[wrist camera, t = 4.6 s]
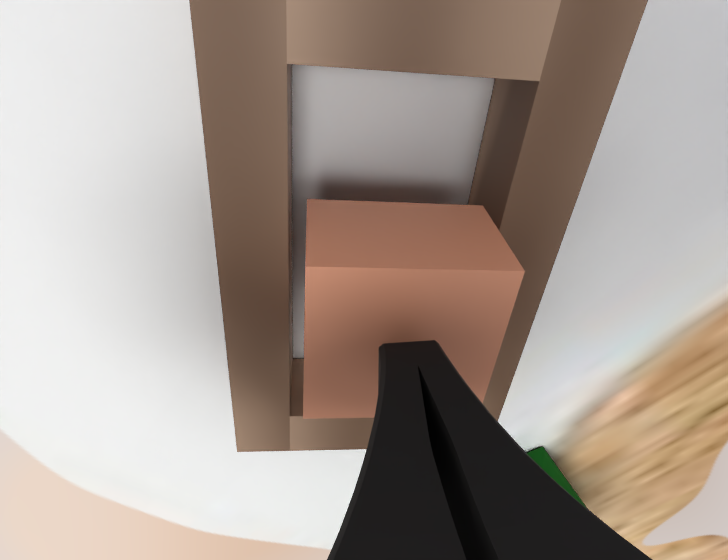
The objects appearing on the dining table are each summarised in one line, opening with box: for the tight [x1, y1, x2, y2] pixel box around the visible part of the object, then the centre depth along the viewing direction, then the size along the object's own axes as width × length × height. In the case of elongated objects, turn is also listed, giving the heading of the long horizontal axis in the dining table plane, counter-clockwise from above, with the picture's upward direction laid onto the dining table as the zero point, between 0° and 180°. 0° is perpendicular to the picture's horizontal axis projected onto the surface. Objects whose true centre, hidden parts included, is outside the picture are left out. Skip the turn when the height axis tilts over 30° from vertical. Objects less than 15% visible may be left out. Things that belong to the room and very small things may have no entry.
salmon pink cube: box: [303, 199, 525, 419], centre depth 14 cm, size 5×5×3 cm
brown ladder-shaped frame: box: [189, 0, 648, 452], centre depth 12 cm, size 10×30×3 cm, turn 175°
